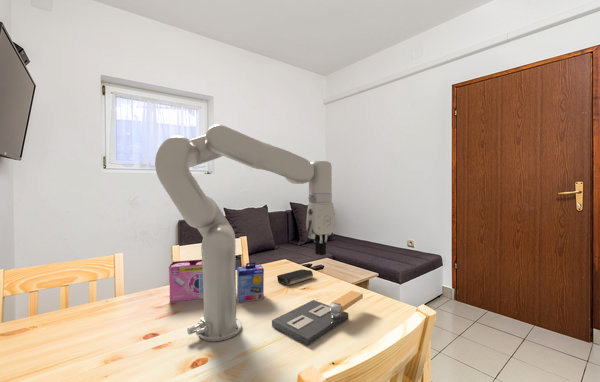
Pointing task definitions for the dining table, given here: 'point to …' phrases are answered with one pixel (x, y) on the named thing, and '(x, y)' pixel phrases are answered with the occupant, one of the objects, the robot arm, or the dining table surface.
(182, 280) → the gum box
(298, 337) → the grey flat block
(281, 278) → the black sponge
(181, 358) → the dining table surface
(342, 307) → the swing arm
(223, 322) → the robot arm
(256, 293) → the ink cartridge box
